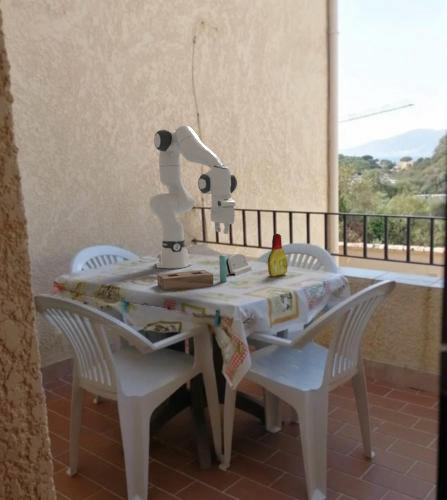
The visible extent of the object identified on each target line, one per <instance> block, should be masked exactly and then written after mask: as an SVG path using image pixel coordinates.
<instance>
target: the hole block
mask: <svg viewBox="0 0 447 500" xmlns="http://www.w3.org/2000/svg"><path fill="white" fill-rule="evenodd" d="M156 275H157V286H158V287H159V288H160V289H162V290H163V291H164V292H165V291H174V290H176V291H177V290H183V289H192V288H193V289H194V288H195V289H196V288H201V287H202V288H203V287H212V286H213V287H214V274H213V273H211V272H209V271H207V270H206V269H201V270H200V269H199V270H190V271H189V270H188V271H179V272H167V273H157V274H156Z"/></svg>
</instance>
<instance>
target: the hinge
mask: <svg viewBox="0 0 447 500" xmlns="http://www.w3.org/2000/svg"><path fill="white" fill-rule="evenodd" d="M251 271H253V269H252V266H251V265H249V263H248V260H247V258H246V256H245V254H242V253H237V254H232V255H230V256H228V257H226V276H228V275H232V274H234V276H236V277H237V276H238V275H242V274H244V273H248V272H251Z"/></svg>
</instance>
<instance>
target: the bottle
mask: <svg viewBox="0 0 447 500" xmlns="http://www.w3.org/2000/svg"><path fill="white" fill-rule="evenodd" d="M267 270H268V275H269V276H270V277H277V276H282V275H283V276H284V275H286V274H287V273H288V257H287V254H286V252H285V251H284V249H283V246H282V235H281V234H280V233H275V234H273V235H272V240H271V251H270V253H269V255H268V258H267Z"/></svg>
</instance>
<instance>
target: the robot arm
mask: <svg viewBox="0 0 447 500" xmlns="http://www.w3.org/2000/svg"><path fill="white" fill-rule="evenodd" d="M153 138H154V139H153V141H154V142H153V143H154V147H155V148H156V150H158V151H159V154H158V156H159V157H158V166H159V167H158V169H159V180H160V183H161V184H162V185H163V186H165V187H166V188H167V190H168V193H167V192H166V193H159V194H155V195H153V196H152V197H150V201H149V208H150V211H151V212H152V214H154V215H156V216H157V218H158V220H159V221H160V225H161V230H162V242H161V247H162V248H161V249H160V252H159V253H158V254H156V258H157V259H158V261H156V262H155V266H156V268H157V269H181V268H186V267H188V266H192V262H189V261H190V259H189V251H188V249H186V239H185V232H184V228H185V227H184V224H182V222H180V221H178V220H177V218H176V215H177V214H178V215H179V214H185V213H188V212H190V211H192V210H193V208H194V205H195V202H194V197H193V195H191V194H190V193H189V192H188V191H187V190H186V187H185V186H184V183H183V180H182V171H181V168H182V167H181V158H180V157H181V155H182V157H183V158H184V159H185V160H186V161H188V162H190V163H195V164H199V165H204V166H206V167H209V169H210V170H208V171H207V172H205V173H202V174H201V175H200V176H199V178H198V180H197V187H198V189H199V192H201V193H202V194H205V195H211V206H210V221H211V222H213V223H214V226H215V231H216V232H217V233H221V231H222V229H221V228H222V227H221V225H220V224H223V226H224V227H223V234H225V235H228V234H229V233H230V232H229V231H230V225H234V223H235V213H236V212H235V207H236V201H235V200H234V199H233V198H232V194H233V193H234V192H235V190H236V188H237V186H238V179H237V177H236V176H235V174H233V173H232V172H231V171H230V168H229V167H228V166H226V165H225V164H224V163H223V162H222V160H221V159H220V158H219V157H218V155H217V154H216V153H215V152H214V151H213V150H211V149H210V148H209V147H207V146H206V144H204V143H203V142H202V140H201V139H200V137H199V136H198V134H197V133H196V132H195V130H194V129H193V128H192V127H191V126H189V125H186V124H184V125H181V126H179V127H178V128H175V129H160V130H158V131H156V133H155V134H154V137H153Z"/></svg>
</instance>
